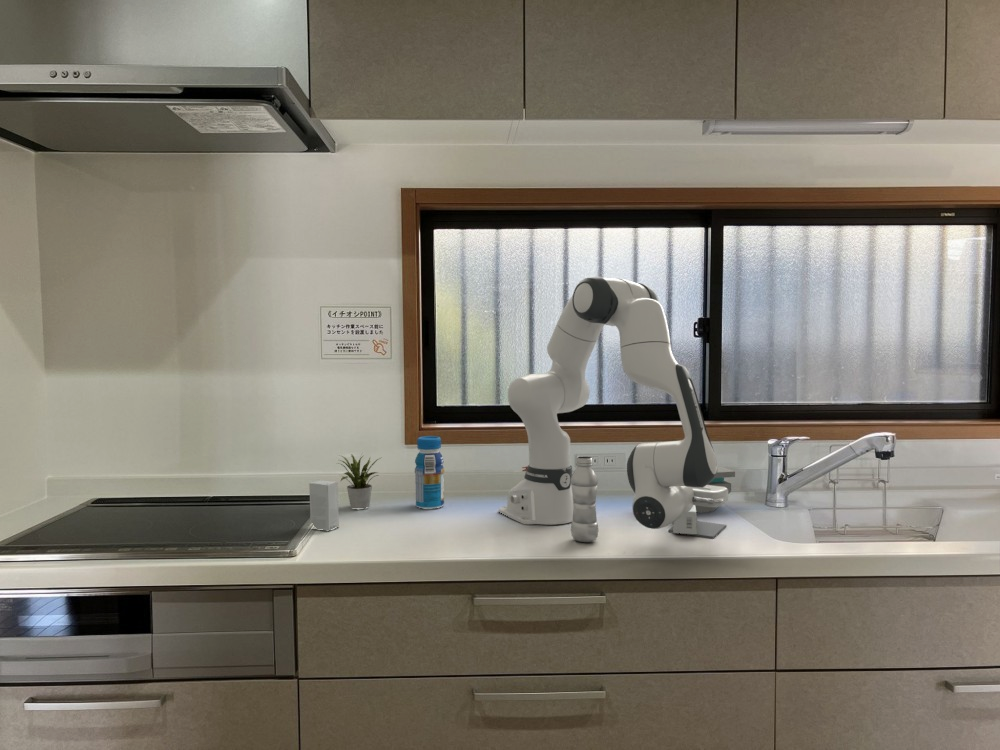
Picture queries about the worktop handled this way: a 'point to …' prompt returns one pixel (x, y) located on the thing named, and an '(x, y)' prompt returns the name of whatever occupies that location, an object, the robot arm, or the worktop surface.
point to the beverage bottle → (429, 473)
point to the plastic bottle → (584, 501)
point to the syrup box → (686, 523)
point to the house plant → (358, 483)
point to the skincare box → (324, 504)
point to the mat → (706, 529)
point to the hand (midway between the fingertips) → (691, 485)
